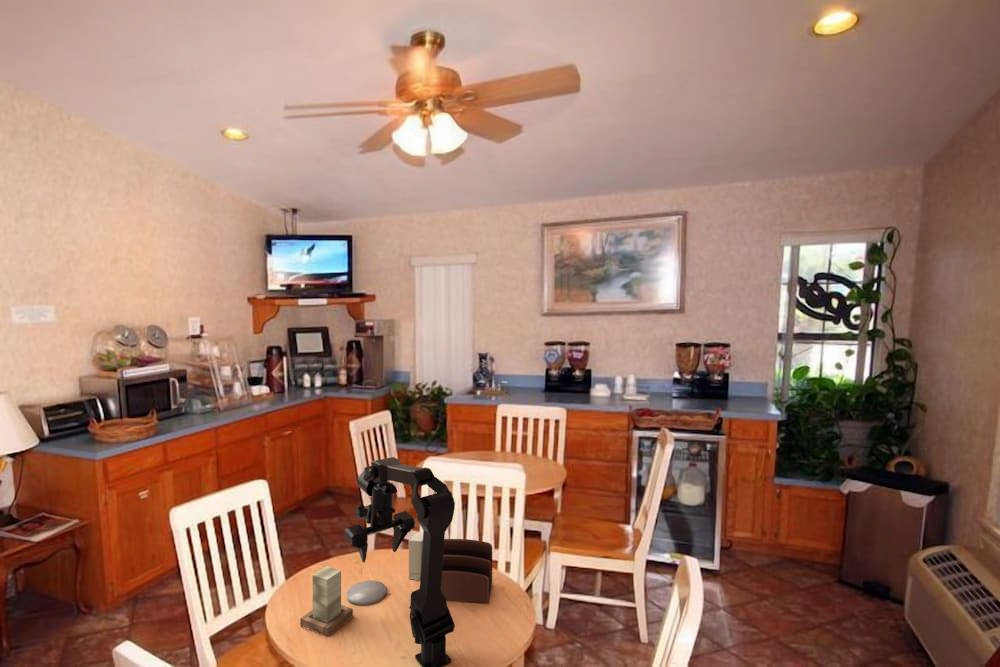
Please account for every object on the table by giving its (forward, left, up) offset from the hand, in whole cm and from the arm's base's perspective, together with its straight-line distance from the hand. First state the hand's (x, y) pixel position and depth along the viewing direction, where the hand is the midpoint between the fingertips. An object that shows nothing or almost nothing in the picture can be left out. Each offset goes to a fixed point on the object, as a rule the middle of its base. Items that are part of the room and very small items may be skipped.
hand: (379, 556), depth 135 cm
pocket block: (+2, +14, -14) cm, 20 cm away
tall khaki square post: (+2, +14, -14) cm, 20 cm away
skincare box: (+9, -16, -14) cm, 23 cm away
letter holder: (-6, -21, -15) cm, 27 cm away
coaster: (+8, +1, -14) cm, 16 cm away
